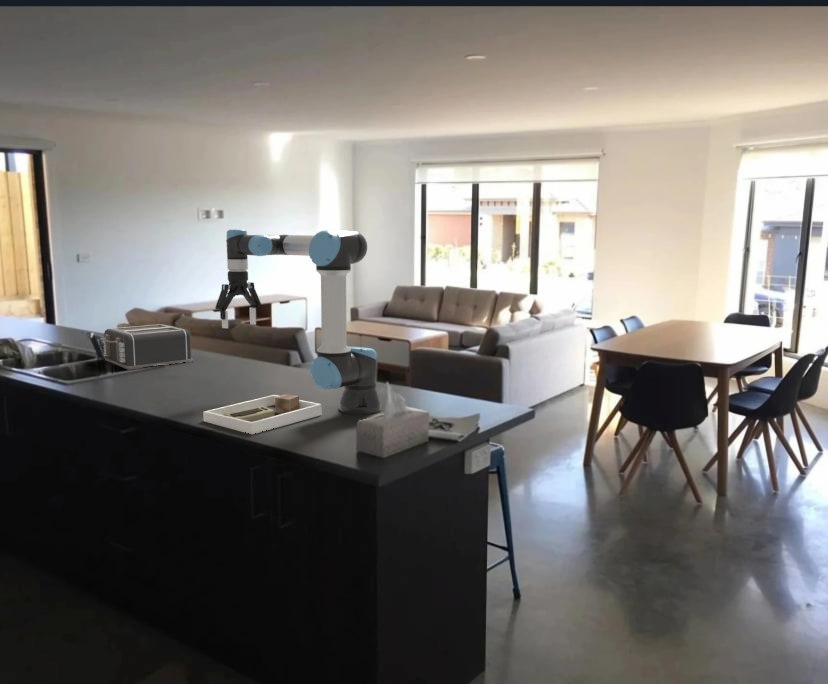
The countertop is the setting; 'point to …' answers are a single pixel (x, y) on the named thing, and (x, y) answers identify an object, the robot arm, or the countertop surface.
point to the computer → (252, 413)
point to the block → (286, 403)
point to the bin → (303, 413)
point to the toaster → (147, 346)
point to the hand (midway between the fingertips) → (239, 326)
